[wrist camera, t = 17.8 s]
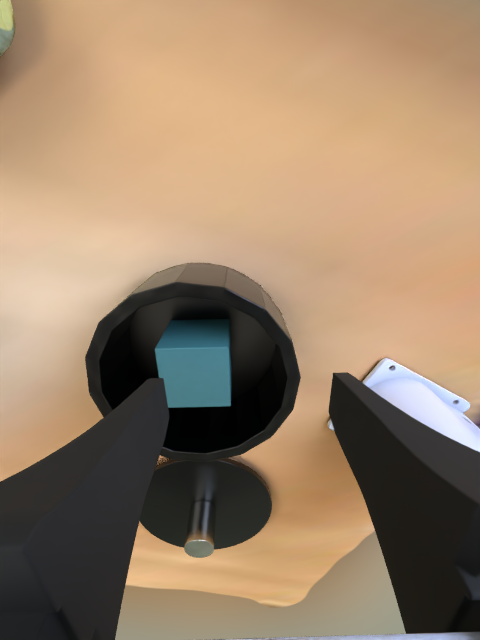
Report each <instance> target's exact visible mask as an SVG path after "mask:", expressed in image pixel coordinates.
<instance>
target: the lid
mask: <svg viewBox="0 0 480 640" xmlns="http://www.w3.org/2000/svg"><path fill="white" fill-rule="evenodd" d="M271 510H272V501H271V495H270V492H269V489H268V487H267V485H266V483H265V482H264V481H263V479H262V478H261V477H260V476H259V475H258V474H257V473H256V472H255V471H253V470H252V469H250V468H249V467H247V466H245V465H243V464H241V463H239V462H237V461H234V460H231V459H228V458H223V459H218V460H214V461H209V462H208V461H207V462H200V461H186V460H169V461H166V462H164V463H162V464H160V465H158V466H156V467H155V470H154V473H153V475H152V478H151V481H150V484H149V487H148V490H147V493H146V497H145V500H144V503H143V507H142V511H141V516H140V520H139V521H140V522H141V524H142V525H143V526H144V527H145V528H146V529H147V530H148V531H149V532H150V533H151V534H153V535H154V536H156V537H157V538H159V539H161V540H163V541H165V542H167V543H170V544H173V545H176V546H179V547H184V550H185V552H186V553H187V554H188V555H190V556H192V557H196V558H203V557H207V556H209V555H211V554H212V553H213V551H214V549H221V548H227V547H231V546H234V545H237V544H240V543H242V542H244V541H246V540H248V539H250V538H252V537H253V536H255V535H256V534H257V533H258V532H259V531H260V530H261V529H262V528H263V527H264V526H265V524H266V523H267V521H268V519H269V517H270V514H271Z"/></svg>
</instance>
